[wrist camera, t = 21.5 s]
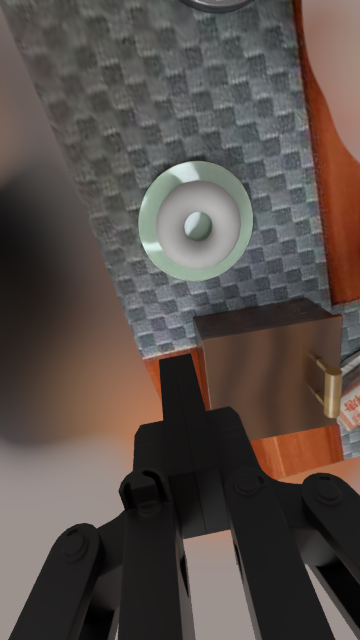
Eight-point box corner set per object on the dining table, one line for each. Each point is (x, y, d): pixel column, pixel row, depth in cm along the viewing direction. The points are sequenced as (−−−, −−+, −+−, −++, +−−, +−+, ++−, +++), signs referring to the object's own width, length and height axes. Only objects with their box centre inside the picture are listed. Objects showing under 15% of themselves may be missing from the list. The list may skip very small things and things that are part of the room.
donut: (222, 167, 37) (141, 199, 37) (230, 164, 34) (142, 200, 34) (245, 248, 41) (172, 278, 41) (254, 253, 38) (175, 285, 38)
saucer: (217, 135, 37) (218, 134, 36) (269, 241, 42) (271, 242, 41) (115, 205, 38) (114, 205, 37) (177, 299, 43) (178, 301, 43)
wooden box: (307, 298, 45) (332, 314, 39) (305, 394, 51) (328, 421, 45) (192, 317, 44) (200, 337, 38) (205, 412, 50) (214, 443, 44)
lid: (339, 313, 39) (365, 329, 34) (333, 420, 45) (355, 446, 41) (201, 337, 38) (209, 357, 34) (214, 443, 44) (222, 472, 40)
